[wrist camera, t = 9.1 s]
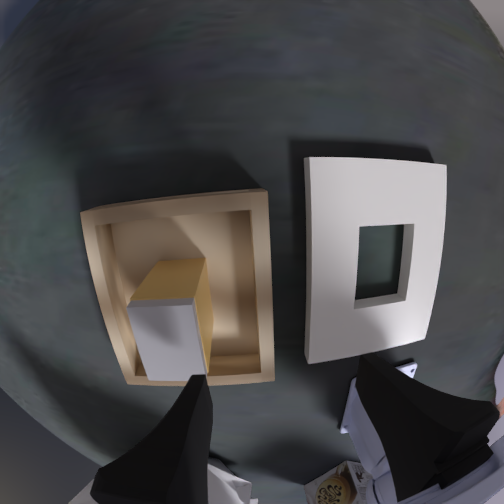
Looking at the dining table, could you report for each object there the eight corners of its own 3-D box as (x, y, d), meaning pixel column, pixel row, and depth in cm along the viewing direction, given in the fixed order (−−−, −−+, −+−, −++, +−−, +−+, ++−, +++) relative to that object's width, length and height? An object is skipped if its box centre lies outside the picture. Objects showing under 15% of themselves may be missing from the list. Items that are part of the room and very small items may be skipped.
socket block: (417, 331, 23) (424, 338, 22) (304, 353, 23) (308, 364, 21) (435, 164, 19) (446, 165, 17) (303, 158, 18) (309, 157, 17)
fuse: (213, 320, 21) (207, 381, 14) (169, 322, 21) (148, 381, 14) (206, 257, 19) (192, 303, 13) (158, 261, 19) (124, 305, 12)
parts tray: (270, 358, 23) (274, 380, 20) (136, 362, 22) (127, 384, 19) (262, 188, 19) (267, 191, 16) (99, 206, 18) (80, 212, 15)
